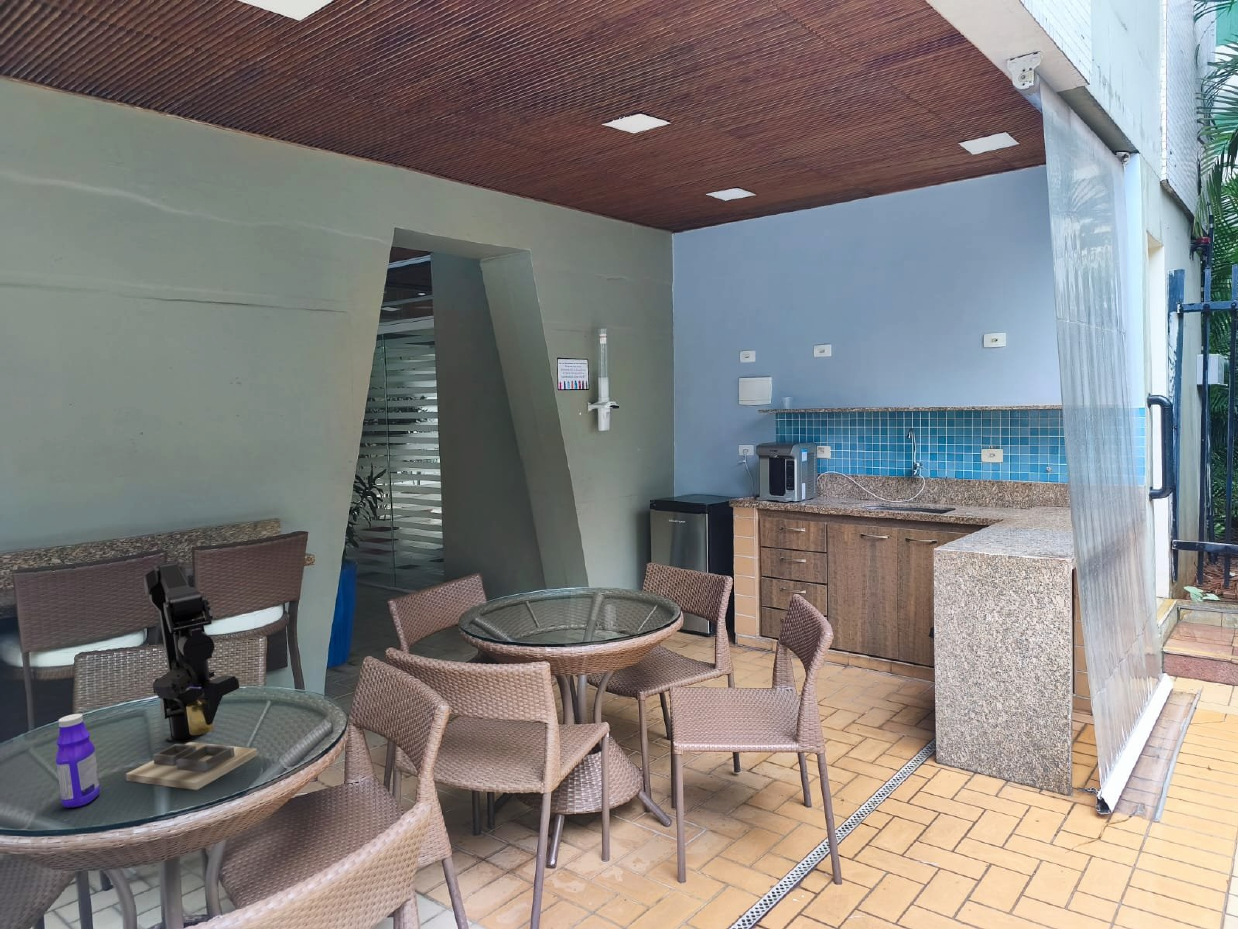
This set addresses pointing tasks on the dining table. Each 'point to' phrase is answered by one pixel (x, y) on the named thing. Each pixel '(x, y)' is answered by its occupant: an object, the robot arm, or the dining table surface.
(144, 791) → the dining table surface
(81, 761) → the bottle
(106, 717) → the dining table surface
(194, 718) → the cylinder
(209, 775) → the board
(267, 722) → the dining table surface
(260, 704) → the dining table surface
